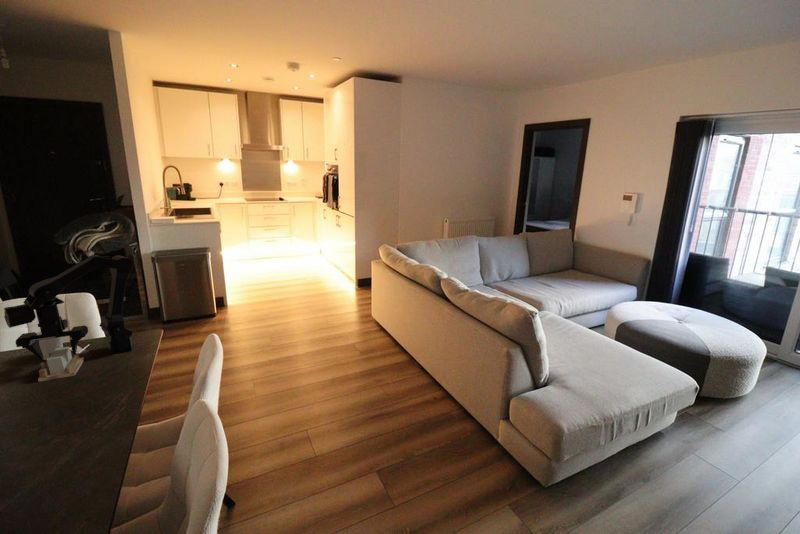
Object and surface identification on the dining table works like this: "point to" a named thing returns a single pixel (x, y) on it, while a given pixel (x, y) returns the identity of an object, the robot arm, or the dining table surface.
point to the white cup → (49, 345)
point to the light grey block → (59, 360)
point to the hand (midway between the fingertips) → (58, 356)
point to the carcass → (69, 371)
